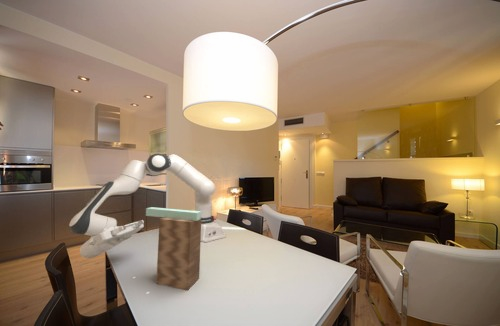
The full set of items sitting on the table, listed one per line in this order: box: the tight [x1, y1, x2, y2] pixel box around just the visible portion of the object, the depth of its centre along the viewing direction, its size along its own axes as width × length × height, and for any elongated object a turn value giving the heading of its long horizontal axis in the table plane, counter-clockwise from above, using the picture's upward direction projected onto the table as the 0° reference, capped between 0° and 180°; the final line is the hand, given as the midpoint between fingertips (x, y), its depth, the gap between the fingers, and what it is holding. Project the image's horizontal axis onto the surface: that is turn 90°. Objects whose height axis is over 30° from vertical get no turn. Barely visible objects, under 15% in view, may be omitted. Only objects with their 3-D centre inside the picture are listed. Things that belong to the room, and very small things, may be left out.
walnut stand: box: [155, 217, 202, 291], centre depth 75 cm, size 14×8×25 cm, turn 75°
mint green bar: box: [145, 206, 201, 221], centre depth 77 cm, size 24×3×3 cm, turn 75°
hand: (133, 224), depth 82 cm, fingers open, 8 cm apart
